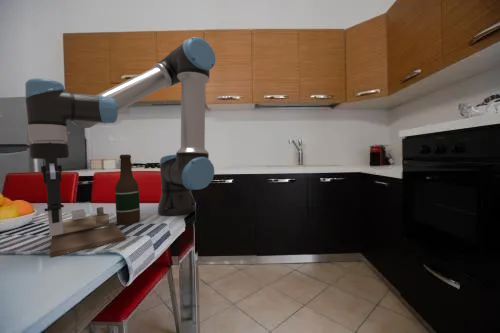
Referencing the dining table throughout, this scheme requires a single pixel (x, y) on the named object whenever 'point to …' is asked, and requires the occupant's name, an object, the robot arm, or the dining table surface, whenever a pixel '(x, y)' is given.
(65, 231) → the link
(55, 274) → the dining table surface
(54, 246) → the base plate
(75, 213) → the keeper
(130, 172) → the beer bottle
